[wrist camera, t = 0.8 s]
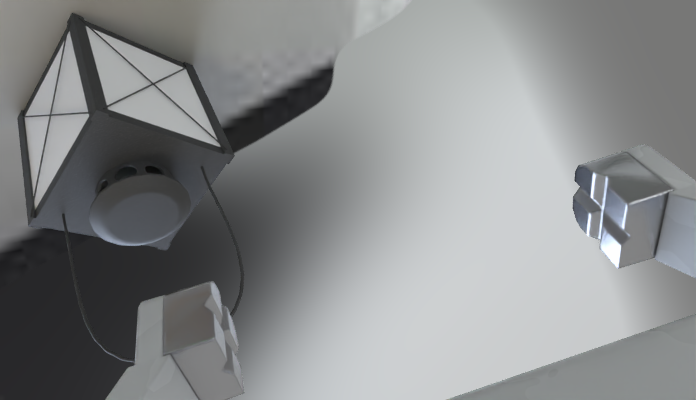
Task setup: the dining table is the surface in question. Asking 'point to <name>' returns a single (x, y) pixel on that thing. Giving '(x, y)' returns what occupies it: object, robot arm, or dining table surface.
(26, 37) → the dining table surface
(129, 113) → the lantern
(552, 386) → the robot arm
